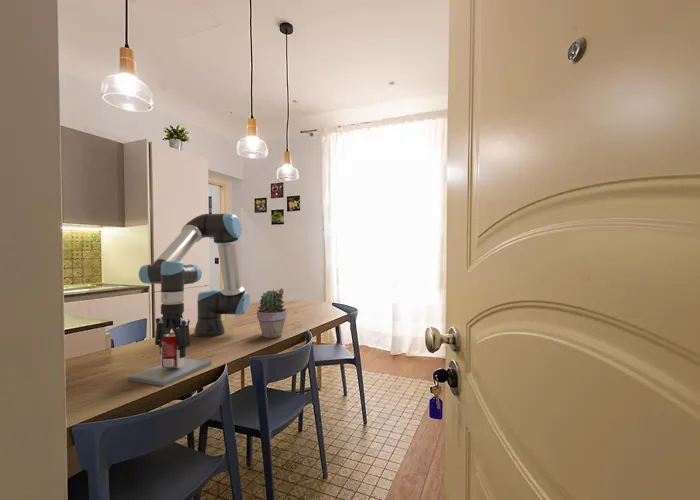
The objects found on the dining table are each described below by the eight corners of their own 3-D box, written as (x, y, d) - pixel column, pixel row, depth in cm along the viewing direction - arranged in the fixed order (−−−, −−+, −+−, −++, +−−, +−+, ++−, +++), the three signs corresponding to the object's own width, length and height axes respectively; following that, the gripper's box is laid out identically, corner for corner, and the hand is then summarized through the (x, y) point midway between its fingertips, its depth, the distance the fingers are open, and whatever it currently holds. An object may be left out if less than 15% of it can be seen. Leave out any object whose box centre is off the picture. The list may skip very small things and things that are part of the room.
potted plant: (257, 331, 184) (257, 286, 184) (292, 331, 183) (292, 286, 183) (245, 339, 166) (246, 289, 166) (284, 340, 165) (284, 290, 165)
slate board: (179, 360, 136) (179, 357, 136) (211, 364, 131) (211, 361, 131) (128, 380, 115) (128, 376, 115) (164, 386, 110) (164, 382, 110)
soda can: (173, 370, 119) (173, 336, 119) (157, 369, 120) (157, 335, 120) (186, 364, 125) (186, 332, 125) (171, 362, 127) (171, 331, 127)
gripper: (143, 303, 122) (143, 365, 122) (185, 305, 116) (185, 371, 116) (160, 300, 129) (160, 359, 129) (201, 302, 123) (201, 364, 123)
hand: (172, 365), depth 123 cm, fingers closed on soda can, 7 cm apart
